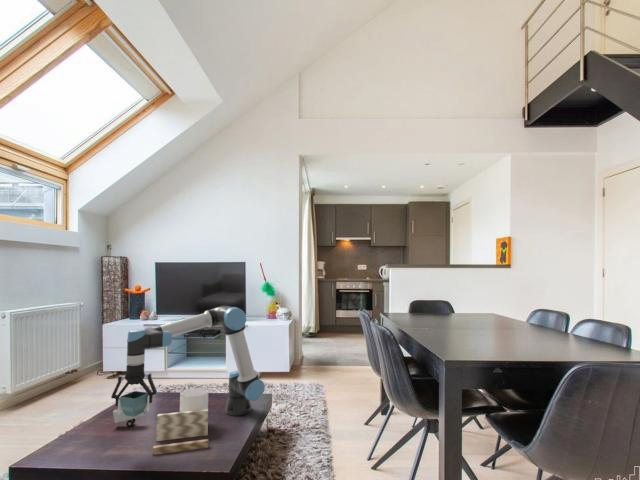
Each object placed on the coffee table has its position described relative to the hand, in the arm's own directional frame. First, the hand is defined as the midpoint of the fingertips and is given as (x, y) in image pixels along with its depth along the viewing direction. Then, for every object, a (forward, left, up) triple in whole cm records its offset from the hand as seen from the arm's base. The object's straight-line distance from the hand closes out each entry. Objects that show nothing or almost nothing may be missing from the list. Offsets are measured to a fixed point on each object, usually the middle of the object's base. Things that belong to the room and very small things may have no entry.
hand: (133, 411), depth 175 cm
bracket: (+14, -33, -15) cm, 39 cm away
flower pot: (0, 0, -1) cm, 1 cm away
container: (-26, -21, -18) cm, 39 cm away
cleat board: (-21, -2, -18) cm, 28 cm away
